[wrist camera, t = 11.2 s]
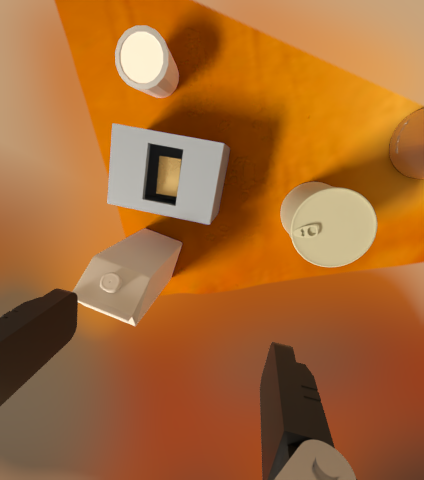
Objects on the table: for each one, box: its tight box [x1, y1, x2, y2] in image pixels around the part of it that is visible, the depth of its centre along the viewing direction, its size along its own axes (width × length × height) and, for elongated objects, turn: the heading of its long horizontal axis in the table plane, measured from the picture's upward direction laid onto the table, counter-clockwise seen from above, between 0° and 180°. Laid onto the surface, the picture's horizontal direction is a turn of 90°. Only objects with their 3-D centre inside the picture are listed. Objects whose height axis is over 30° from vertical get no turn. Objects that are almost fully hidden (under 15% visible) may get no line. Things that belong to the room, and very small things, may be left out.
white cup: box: [115, 26, 179, 98], centre depth 35 cm, size 7×7×7 cm
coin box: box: [107, 123, 230, 225], centre depth 38 cm, size 14×10×9 cm
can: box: [280, 182, 377, 267], centre depth 35 cm, size 9×9×12 cm
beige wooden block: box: [156, 156, 182, 197], centre depth 39 cm, size 3×5×6 cm, turn 172°
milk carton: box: [73, 228, 183, 326], centre depth 37 cm, size 7×7×19 cm
